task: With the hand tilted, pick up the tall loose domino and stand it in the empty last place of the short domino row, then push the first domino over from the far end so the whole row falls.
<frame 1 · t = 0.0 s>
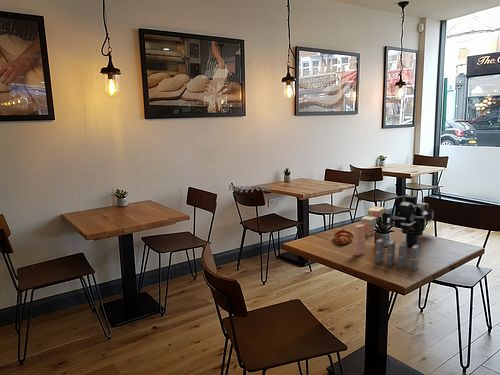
hand: (397, 225, 171), 17 cm above the table, tool horizontal, fingers open, 9 cm apart
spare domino: (359, 253, 183), on the table
domino 3: (390, 263, 171), on the table
domino 4: (379, 261, 174), on the table
croissant: (343, 240, 205), on the table
domino 1: (414, 268, 165), on the table
stack of blocks: (373, 231, 220), on the table
domino 2: (402, 266, 168), on the table
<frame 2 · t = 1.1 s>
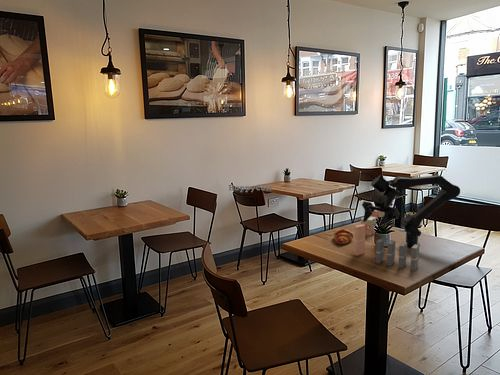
hand: (371, 223, 185), 14 cm above the table, tool tilted 45°, fingers open, 9 cm apart
nothing on the table moved.
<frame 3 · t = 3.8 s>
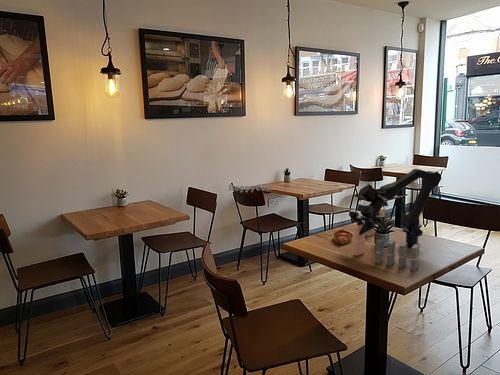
hand: (357, 234, 181), 10 cm above the table, tool tilted 45°, fingers closed on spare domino, 2 cm apart
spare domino: (359, 253, 183), on the table, touching gripper
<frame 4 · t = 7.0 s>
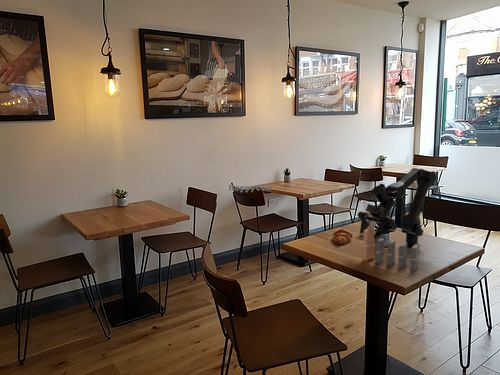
hand: (367, 235, 174), 12 cm above the table, tool tilted 45°, fingers open, 8 cm apart
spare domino: (368, 259, 177), on the table
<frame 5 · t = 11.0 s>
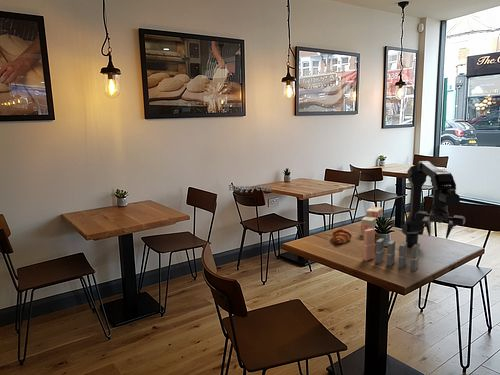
hand: (438, 237, 165), 13 cm above the table, tool pointing down, fingers open, 6 cm apart
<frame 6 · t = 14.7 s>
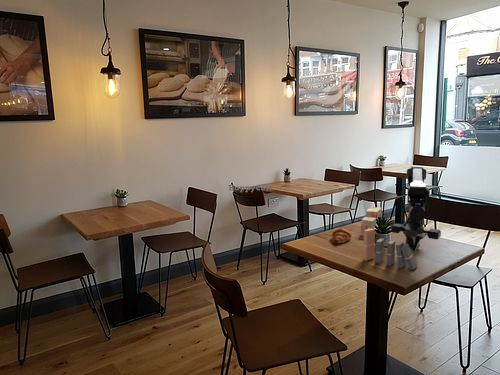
hand: (414, 250, 164), 8 cm above the table, tool pointing down, fingers closed
domino 1: (414, 267, 165), on the table, tilted 27°
domino 2: (402, 265, 168), on the table, tilted 9°
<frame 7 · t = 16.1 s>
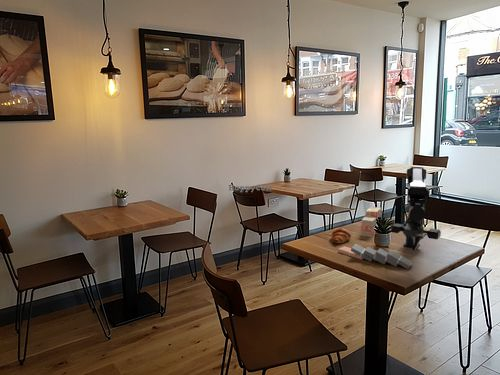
hand: (414, 250, 164), 8 cm above the table, tool pointing down, fingers closed
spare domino: (365, 256, 177), point 1 cm above the table, tilted 90°
domino 3: (386, 260, 172), point 1 cm above the table, tilted 69°, touching domino 2
domino 4: (373, 257, 175), point 1 cm above the table, tilted 69°
domino 1: (410, 265, 166), point 1 cm above the table, tilted 69°, touching domino 2
domino 2: (398, 263, 169), point 1 cm above the table, tilted 68°, touching domino 1, domino 3
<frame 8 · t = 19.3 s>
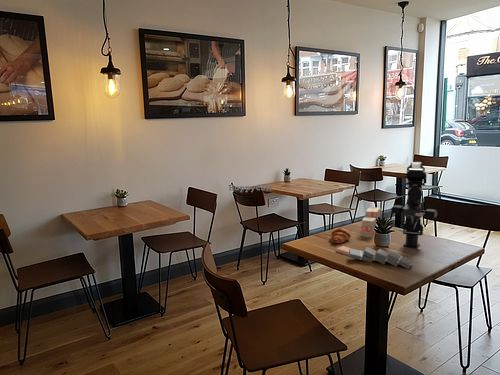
hand: (412, 229, 176), 13 cm above the table, tool pointing down, fingers closed
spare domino: (363, 256, 178), point 1 cm above the table, tilted 90°, touching domino 4
domino 3: (386, 260, 172), point 1 cm above the table, tilted 69°, touching domino 2, domino 4
domino 4: (371, 257, 175), point 1 cm above the table, tilted 78°, touching domino 3, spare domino
at the end: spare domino inside the target area (2.5 cm from its centre), point 0.6 cm above the table; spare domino tilted 90°; domino 1 tilted 69° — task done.
